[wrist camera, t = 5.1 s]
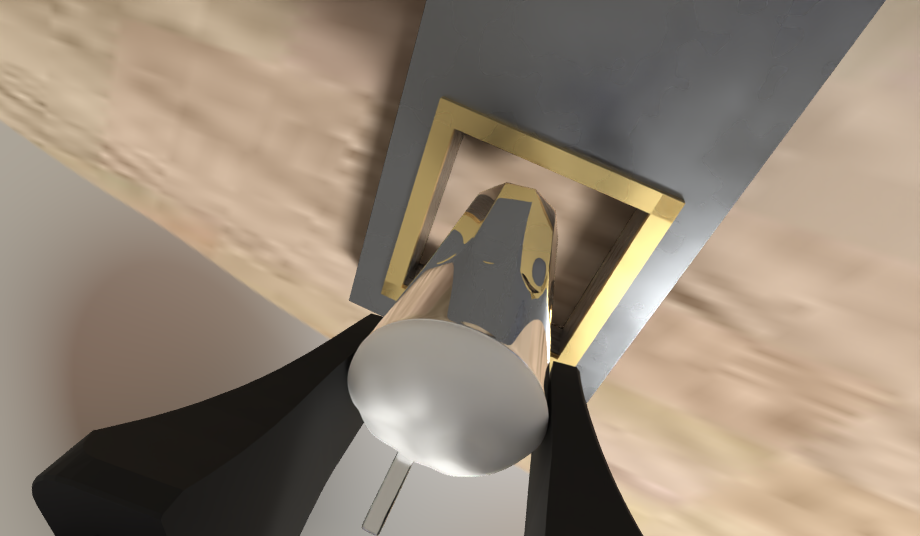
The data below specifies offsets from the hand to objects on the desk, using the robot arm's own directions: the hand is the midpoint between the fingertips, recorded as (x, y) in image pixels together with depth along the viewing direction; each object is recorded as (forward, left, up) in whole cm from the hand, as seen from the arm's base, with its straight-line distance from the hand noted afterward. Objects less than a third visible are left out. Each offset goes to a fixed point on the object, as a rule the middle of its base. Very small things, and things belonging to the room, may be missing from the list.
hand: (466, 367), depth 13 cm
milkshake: (0, -1, -6) cm, 6 cm away
